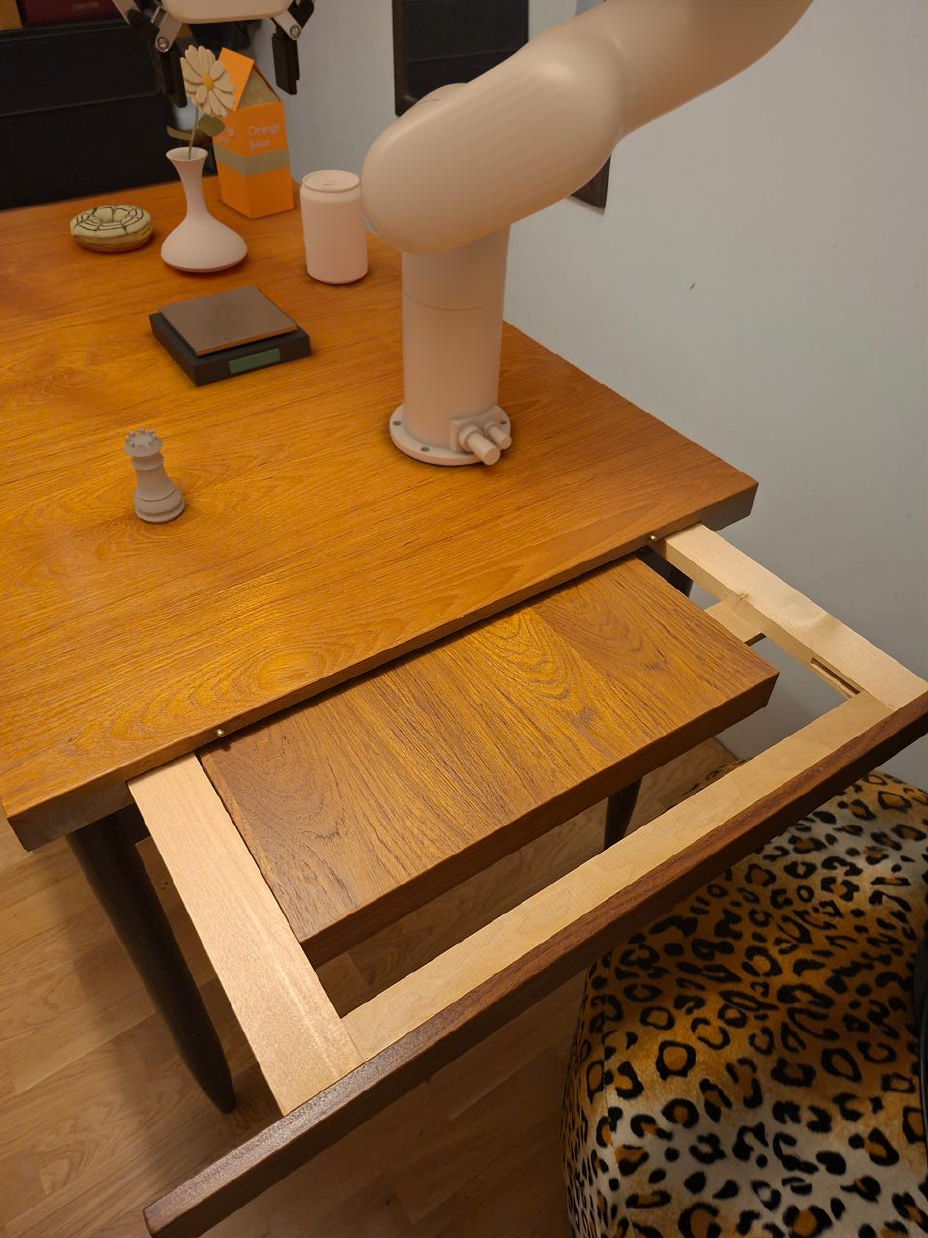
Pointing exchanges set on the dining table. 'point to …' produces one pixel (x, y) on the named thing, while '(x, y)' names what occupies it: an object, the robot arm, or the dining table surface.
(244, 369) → the scale
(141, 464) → the rook chess piece
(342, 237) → the beverage can
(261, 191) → the orange juice
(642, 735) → the dining table surface
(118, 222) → the decorated donut
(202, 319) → the platter
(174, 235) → the flower in vase
